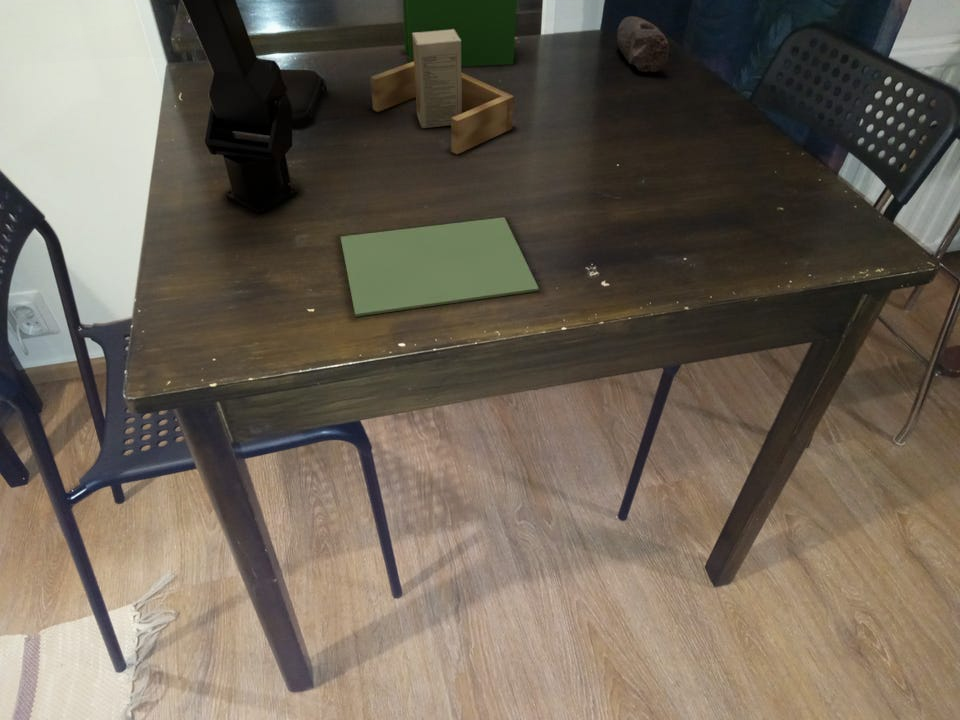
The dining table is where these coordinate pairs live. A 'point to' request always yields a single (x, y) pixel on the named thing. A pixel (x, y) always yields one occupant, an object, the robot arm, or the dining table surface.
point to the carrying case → (302, 92)
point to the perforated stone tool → (642, 44)
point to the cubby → (480, 102)
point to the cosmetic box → (437, 77)
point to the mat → (434, 266)
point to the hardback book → (466, 27)
